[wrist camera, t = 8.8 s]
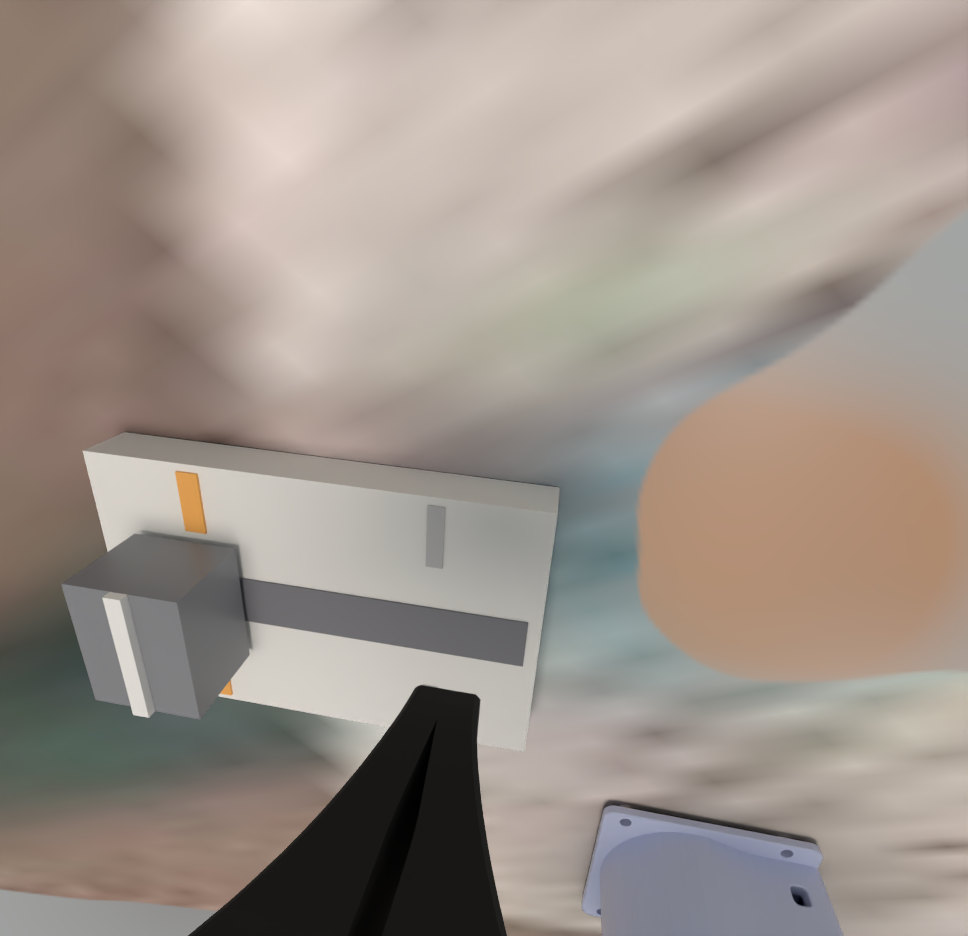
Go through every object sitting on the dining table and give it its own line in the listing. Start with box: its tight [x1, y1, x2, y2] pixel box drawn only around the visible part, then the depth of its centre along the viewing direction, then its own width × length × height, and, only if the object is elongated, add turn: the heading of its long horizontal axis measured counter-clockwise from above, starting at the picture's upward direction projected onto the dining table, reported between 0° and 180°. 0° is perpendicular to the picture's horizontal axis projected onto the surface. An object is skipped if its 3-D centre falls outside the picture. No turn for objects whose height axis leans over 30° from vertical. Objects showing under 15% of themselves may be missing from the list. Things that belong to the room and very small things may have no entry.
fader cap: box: [61, 534, 250, 719], centre depth 20 cm, size 4×5×4 cm
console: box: [83, 432, 560, 752], centre depth 22 cm, size 17×11×2 cm, turn 86°
